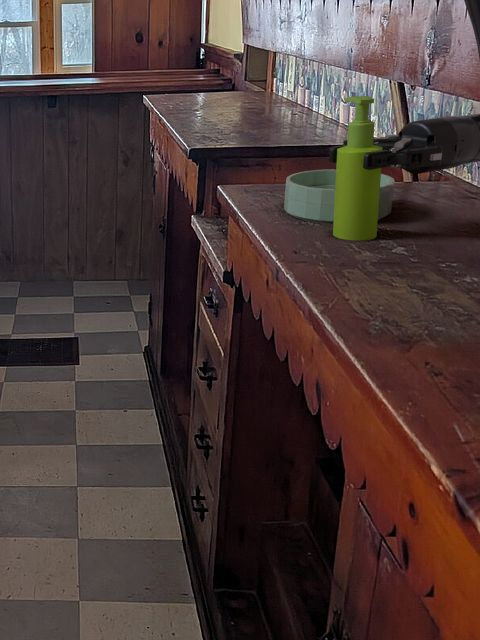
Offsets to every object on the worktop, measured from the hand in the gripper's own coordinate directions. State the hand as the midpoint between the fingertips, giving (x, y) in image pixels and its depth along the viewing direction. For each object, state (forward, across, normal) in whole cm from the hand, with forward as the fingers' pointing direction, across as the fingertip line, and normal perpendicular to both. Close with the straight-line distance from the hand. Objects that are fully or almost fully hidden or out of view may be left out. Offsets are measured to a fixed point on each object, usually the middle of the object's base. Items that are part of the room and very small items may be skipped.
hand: (348, 158), depth 120 cm
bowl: (-12, -14, +12) cm, 22 cm away
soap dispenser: (-2, 0, +12) cm, 12 cm away
